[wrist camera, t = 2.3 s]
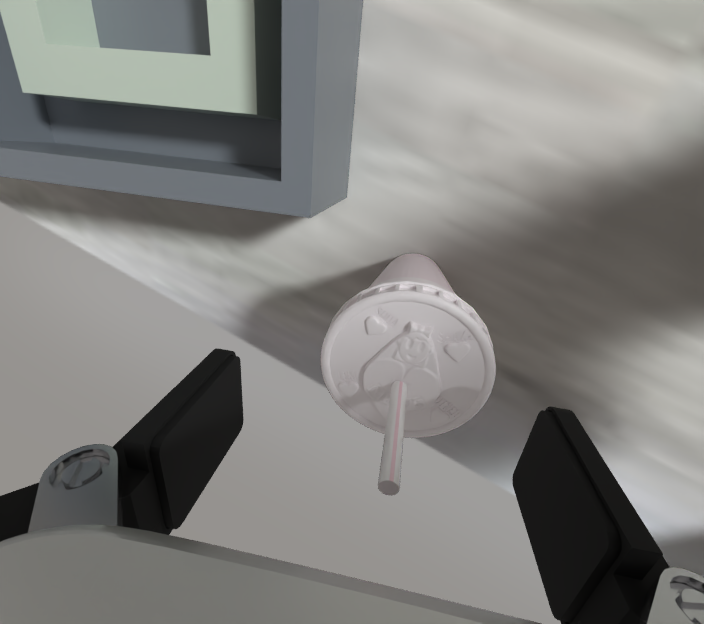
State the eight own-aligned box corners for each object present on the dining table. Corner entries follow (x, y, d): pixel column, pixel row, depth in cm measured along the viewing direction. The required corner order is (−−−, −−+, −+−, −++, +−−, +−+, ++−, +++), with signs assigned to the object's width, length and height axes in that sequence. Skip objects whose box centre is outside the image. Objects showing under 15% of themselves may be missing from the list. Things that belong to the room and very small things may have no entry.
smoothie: (350, 313, 23) (260, 510, 10) (374, 217, 20) (289, 327, 7) (445, 340, 22) (473, 582, 10) (483, 246, 19) (594, 417, 7)
